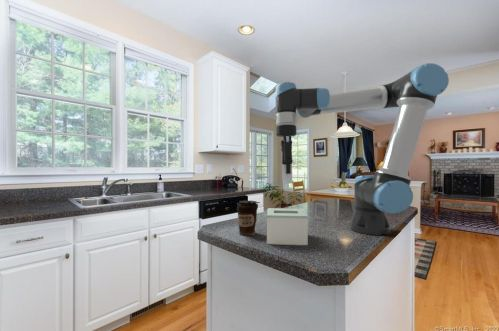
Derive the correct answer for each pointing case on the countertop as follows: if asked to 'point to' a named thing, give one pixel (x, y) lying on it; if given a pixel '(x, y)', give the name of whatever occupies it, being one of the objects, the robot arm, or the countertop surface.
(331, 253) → the countertop surface
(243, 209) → the coffee cup
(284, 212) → the coin box
